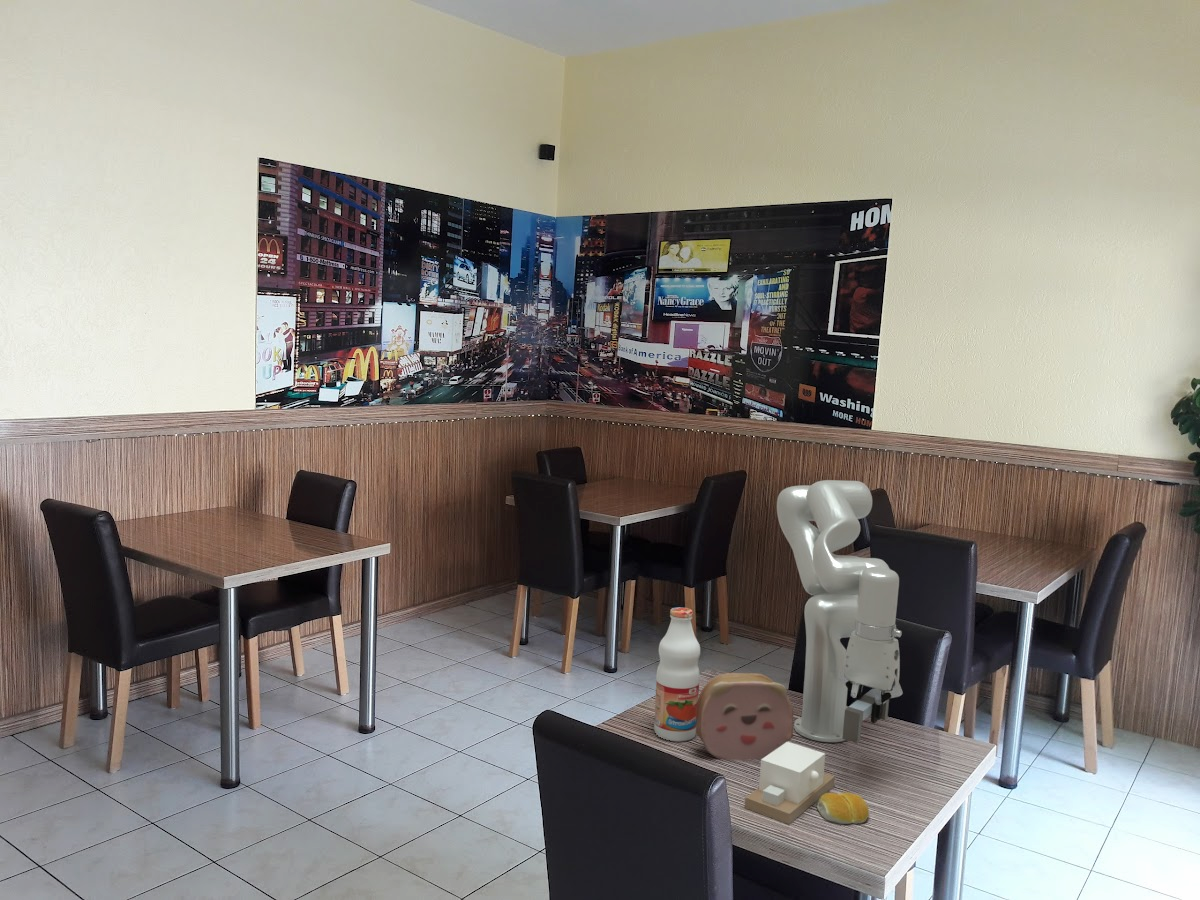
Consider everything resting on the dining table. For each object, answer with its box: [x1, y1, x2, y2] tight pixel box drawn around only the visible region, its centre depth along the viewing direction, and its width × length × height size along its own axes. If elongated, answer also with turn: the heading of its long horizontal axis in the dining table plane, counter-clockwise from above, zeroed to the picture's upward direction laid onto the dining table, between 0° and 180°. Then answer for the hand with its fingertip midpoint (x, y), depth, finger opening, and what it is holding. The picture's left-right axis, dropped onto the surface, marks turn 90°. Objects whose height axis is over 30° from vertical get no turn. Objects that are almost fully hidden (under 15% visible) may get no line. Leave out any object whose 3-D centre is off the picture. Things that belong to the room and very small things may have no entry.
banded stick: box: [842, 688, 891, 744], centre depth 186 cm, size 16×3×6 cm, turn 142°
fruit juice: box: [653, 606, 701, 742], centre depth 203 cm, size 9×9×28 cm
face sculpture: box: [696, 672, 795, 761], centre depth 195 cm, size 20×7×17 cm, turn 96°
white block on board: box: [744, 741, 836, 825], centre depth 177 cm, size 20×10×8 cm, turn 142°
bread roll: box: [816, 792, 870, 825], centre depth 172 cm, size 8×9×4 cm
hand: (866, 717), depth 186 cm, fingers closed on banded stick, 3 cm apart
